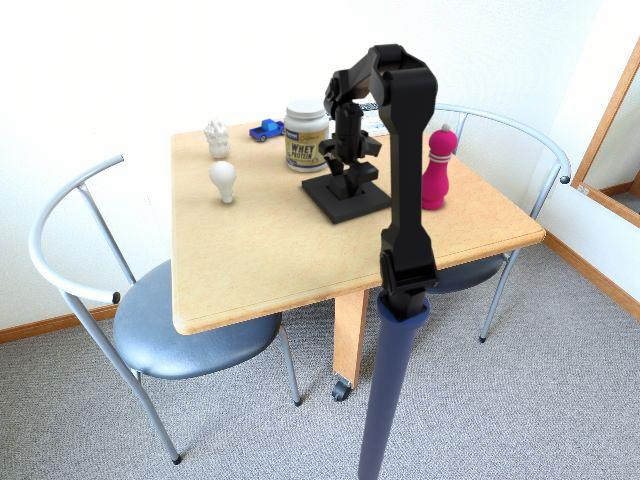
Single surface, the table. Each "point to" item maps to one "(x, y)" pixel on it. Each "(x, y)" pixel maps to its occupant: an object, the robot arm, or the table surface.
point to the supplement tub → (305, 134)
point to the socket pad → (349, 207)
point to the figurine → (217, 138)
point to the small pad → (341, 187)
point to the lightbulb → (223, 179)
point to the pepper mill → (438, 168)
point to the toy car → (267, 130)
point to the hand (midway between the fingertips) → (345, 190)
